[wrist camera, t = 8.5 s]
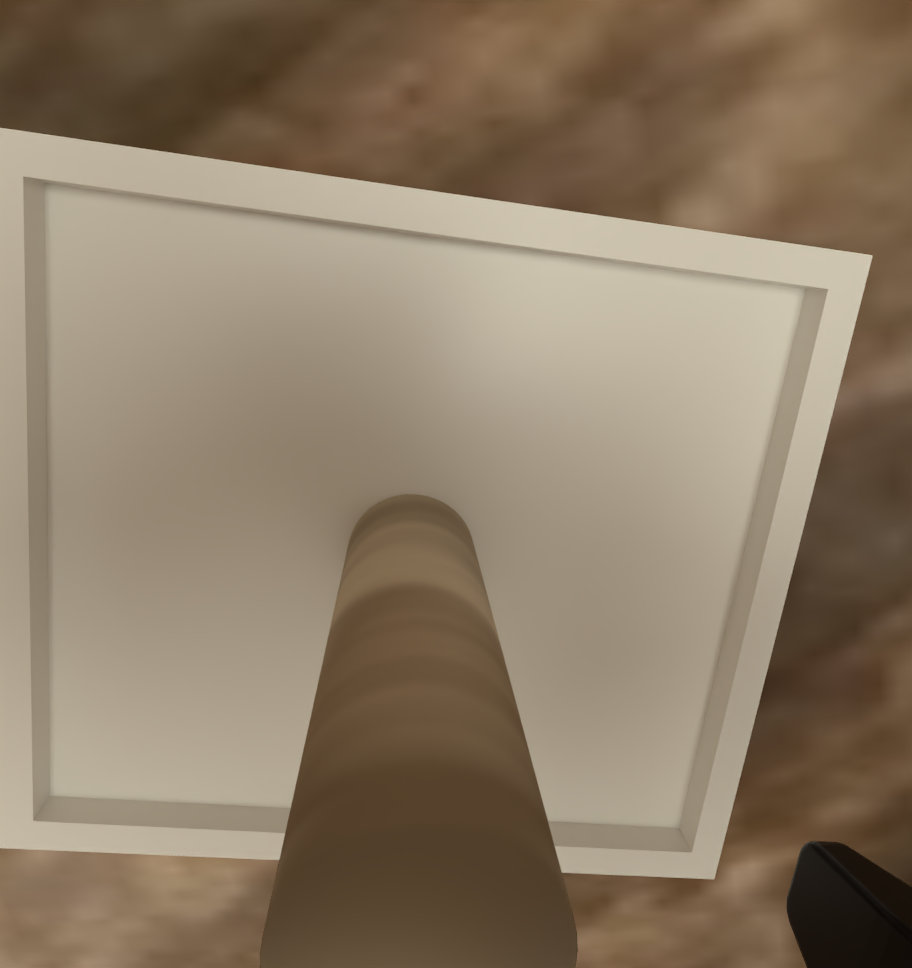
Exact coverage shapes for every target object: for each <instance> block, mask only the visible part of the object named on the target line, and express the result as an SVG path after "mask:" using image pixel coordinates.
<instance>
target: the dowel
mask: <svg viewBox="0 0 912 968" xmlns="http://www.w3.org/2000/svg"><path fill="white" fill-rule="evenodd" d="M577 951H578V950H577V932H576V927H575V921H574V917H573V913H572V909H571V906H570V902H569V898H568V894H567V891H566V887H565V883H564V879H563V876H562V872H561V868H560V865H559V861H558V857H557V853H556V850H555V846H554V842H553V838H552V835H551V831H550V827H549V823H548V820H547V816H546V812H545V809H544V805H543V801H542V797H541V794H540V790H539V786H538V782H537V779H536V775H535V771H534V768H533V764H532V760H531V756H530V753H529V749H528V745H527V741H526V738H525V734H524V730H523V726H522V723H521V719H520V715H519V712H518V708H517V704H516V700H515V697H514V693H513V689H512V685H511V682H510V678H509V674H508V671H507V667H506V663H505V659H504V656H503V652H502V648H501V644H500V641H499V637H498V633H497V629H496V626H495V622H494V618H493V615H492V611H491V607H490V603H489V600H488V596H487V592H486V588H485V585H484V581H483V577H482V573H481V570H480V566H479V562H478V559H477V555H476V551H475V547H474V544H473V540H472V537H471V534H470V531H469V529H468V527H467V525H466V523H465V522H464V521H463V519H462V518H461V517H460V516H459V514H458V513H457V512H456V511H455V510H453V509H452V508H451V507H450V506H448V505H447V504H445V503H443V502H441V501H439V500H437V499H435V498H432V497H428V496H424V495H416V494H407V495H399V496H394V497H391V498H388V499H385V500H383V501H381V502H379V503H377V504H376V505H374V506H373V507H372V508H370V509H369V510H368V511H367V512H366V513H365V514H364V515H363V516H362V517H361V518H360V519H359V521H358V522H357V524H356V525H355V527H354V529H353V531H352V533H351V537H350V540H349V544H348V548H347V553H346V557H345V562H344V567H343V571H342V576H341V580H340V585H339V589H338V594H337V599H336V603H335V608H334V612H333V617H332V621H331V626H330V631H329V635H328V640H327V644H326V649H325V653H324V658H323V663H322V667H321V672H320V676H319V681H318V685H317V690H316V695H315V699H314V704H313V708H312V713H311V717H310V722H309V727H308V731H307V736H306V740H305V745H304V749H303V754H302V759H301V763H300V768H299V772H298V777H297V781H296V786H295V791H294V795H293V800H292V804H291V809H290V813H289V818H288V823H287V827H286V832H285V836H284V841H283V846H282V850H281V855H280V859H279V864H278V868H277V873H276V878H275V882H274V887H273V891H272V896H271V900H270V905H269V910H268V914H267V919H266V923H265V928H264V932H263V937H262V944H261V950H260V968H575V966H576V958H577Z"/></svg>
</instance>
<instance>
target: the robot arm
mask: <svg viewBox="0 0 912 968" xmlns="http://www.w3.org/2000/svg"><path fill="white" fill-rule="evenodd" d="M787 913H788V918H789V921H790V925H791V927H792V930H793V932H794V935H795V938H796V940H797V943H798V945H799V948H800V951H801V953H802V956H803V958H804V961H805V964H806V966H807V968H912V887H911V886H909V885H907V884H906V883H904V882H903V881H901V880H900V879H898V878H896V877H895V876H893V875H892V874H890V873H889V872H887V871H885V870H884V869H882V868H881V867H879V866H878V865H876V864H874V863H873V862H871V861H870V860H868V859H867V858H865V857H863V856H862V855H860V854H859V853H857V852H856V851H854V850H853V849H851V848H849V847H848V846H846V845H844V844H842V843H838V842H823V841H810V842H807V843H806V844H805V845H804V846H803V847H802V848H801V851H800V854H799V857H798V861H797V864H796V868H795V871H794V875H793V878H792V882H791V885H790V889H789V892H788V896H787Z"/></svg>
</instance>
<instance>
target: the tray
mask: <svg viewBox="0 0 912 968" xmlns="http://www.w3.org/2000/svg"><path fill="white" fill-rule="evenodd" d="M872 256H873V255H867V254H860V253H853V252H846V251H839V250H832V249H826V248H819V247H812V246H805V245H798V244H791V243H785V242H778V241H771V240H764V239H757V238H750V237H744V236H737V235H730V234H723V233H716V232H709V231H703V230H696V229H689V228H682V227H675V226H668V225H662V224H655V223H648V222H641V221H634V220H627V219H621V218H614V217H607V216H600V215H593V214H586V213H580V212H573V211H566V210H559V209H552V208H545V207H538V206H532V205H525V204H518V203H511V202H504V201H497V200H491V199H484V198H477V197H470V196H463V195H456V194H450V193H443V192H436V191H429V190H422V189H415V188H409V187H402V186H395V185H388V184H381V183H374V182H368V181H361V180H354V179H347V178H340V177H333V176H327V175H320V174H313V173H306V172H299V171H292V170H286V169H279V168H272V167H265V166H258V165H251V164H245V163H238V162H231V161H224V160H217V159H210V158H204V157H197V156H190V155H183V154H176V153H169V152H163V151H156V150H149V149H142V148H135V147H128V146H121V145H115V144H108V143H101V142H94V141H87V140H80V139H74V138H67V137H60V136H53V135H46V134H39V133H33V132H26V131H19V130H12V129H5V128H0V848H12V849H34V850H57V851H80V852H103V853H126V854H149V855H171V856H194V857H217V858H240V859H263V860H279V859H280V855H281V850H282V846H283V841H284V836H285V832H286V827H287V823H288V818H289V813H290V809H291V804H292V800H293V795H294V791H295V786H296V781H297V777H298V772H299V768H300V763H301V759H302V754H303V749H304V745H305V740H306V736H307V731H308V727H309V722H310V717H311V713H312V708H313V704H314V699H315V695H316V690H317V685H318V681H319V676H320V672H321V667H322V663H323V658H324V653H325V649H326V644H327V640H328V635H329V631H330V626H331V621H332V617H333V612H334V608H335V603H336V599H337V594H338V589H339V585H340V580H341V576H342V571H343V567H344V562H345V557H346V553H347V548H348V544H349V540H350V537H351V533H352V531H353V529H354V527H355V525H356V524H357V522H358V521H359V519H360V518H361V517H362V516H363V515H364V514H365V513H366V512H367V511H368V510H369V509H370V508H372V507H373V506H374V505H376V504H377V503H379V502H381V501H383V500H385V499H388V498H391V497H394V496H399V495H407V494H416V495H424V496H428V497H432V498H435V499H437V500H439V501H441V502H443V503H445V504H447V505H448V506H450V507H451V508H452V509H453V510H455V511H456V512H457V513H458V514H459V516H460V517H461V518H462V519H463V521H464V522H465V523H466V525H467V527H468V529H469V531H470V534H471V537H472V540H473V544H474V547H475V551H476V555H477V559H478V562H479V566H480V570H481V573H482V577H483V581H484V585H485V588H486V592H487V596H488V600H489V603H490V607H491V611H492V615H493V618H494V622H495V626H496V629H497V633H498V637H499V641H500V644H501V648H502V652H503V656H504V659H505V663H506V667H507V671H508V674H509V678H510V682H511V685H512V689H513V693H514V697H515V700H516V704H517V708H518V712H519V715H520V719H521V723H522V726H523V730H524V734H525V738H526V741H527V745H528V749H529V753H530V756H531V760H532V764H533V768H534V771H535V775H536V779H537V782H538V786H539V790H540V794H541V797H542V801H543V805H544V809H545V812H546V816H547V820H548V823H549V827H550V831H551V835H552V838H553V842H554V846H555V850H556V853H557V857H558V861H559V865H560V868H561V872H562V873H582V874H605V875H628V876H651V877H674V878H697V879H715V875H716V871H717V867H718V863H719V859H720V855H721V851H722V847H723V843H724V839H725V835H726V831H727V827H728V823H729V819H730V816H731V812H732V808H733V804H734V800H735V796H736V792H737V788H738V784H739V780H740V776H741V772H742V768H743V764H744V760H745V756H746V752H747V749H748V745H749V741H750V737H751V733H752V729H753V725H754V721H755V717H756V713H757V709H758V705H759V701H760V697H761V693H762V689H763V685H764V682H765V678H766V674H767V670H768V666H769V662H770V658H771V654H772V650H773V646H774V642H775V638H776V634H777V630H778V626H779V622H780V618H781V615H782V611H783V607H784V603H785V599H786V595H787V591H788V587H789V583H790V579H791V575H792V571H793V567H794V563H795V559H796V555H797V551H798V548H799V544H800V540H801V536H802V532H803V528H804V524H805V520H806V516H807V512H808V508H809V504H810V500H811V496H812V492H813V488H814V484H815V481H816V477H817V473H818V469H819V465H820V461H821V457H822V453H823V449H824V445H825V441H826V437H827V433H828V429H829V425H830V421H831V417H832V413H833V410H834V406H835V402H836V398H837V394H838V390H839V386H840V382H841V378H842V374H843V370H844V366H845V362H846V358H847V354H848V350H849V346H850V343H851V339H852V335H853V331H854V327H855V323H856V319H857V315H858V311H859V307H860V303H861V299H862V295H863V291H864V287H865V283H866V279H867V276H868V272H869V268H870V264H871V260H872Z"/></svg>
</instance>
